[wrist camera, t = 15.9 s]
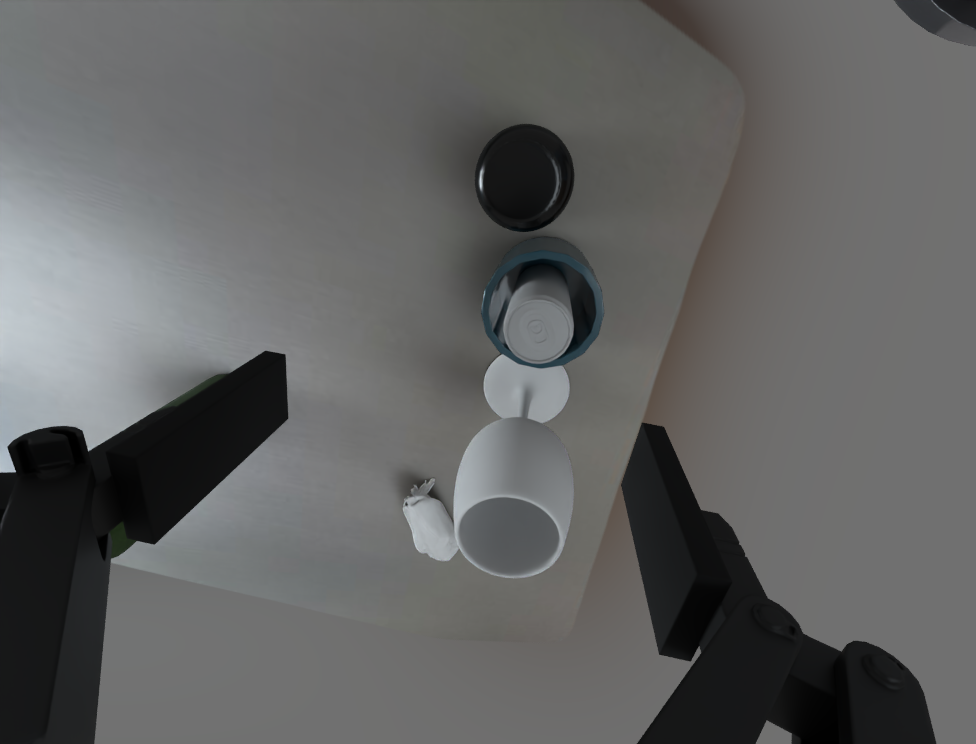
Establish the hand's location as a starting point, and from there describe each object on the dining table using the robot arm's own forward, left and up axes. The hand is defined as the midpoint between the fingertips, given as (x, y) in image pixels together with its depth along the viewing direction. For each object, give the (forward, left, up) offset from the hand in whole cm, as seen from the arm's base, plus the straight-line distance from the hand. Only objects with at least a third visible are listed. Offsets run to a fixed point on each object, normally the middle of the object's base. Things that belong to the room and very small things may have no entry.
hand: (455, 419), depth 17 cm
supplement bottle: (-6, -6, -28) cm, 29 cm away
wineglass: (+6, +11, -28) cm, 30 cm away
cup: (-1, +3, -28) cm, 28 cm away
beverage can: (-1, +3, -27) cm, 27 cm away
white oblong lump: (+24, +19, -28) cm, 41 cm away
